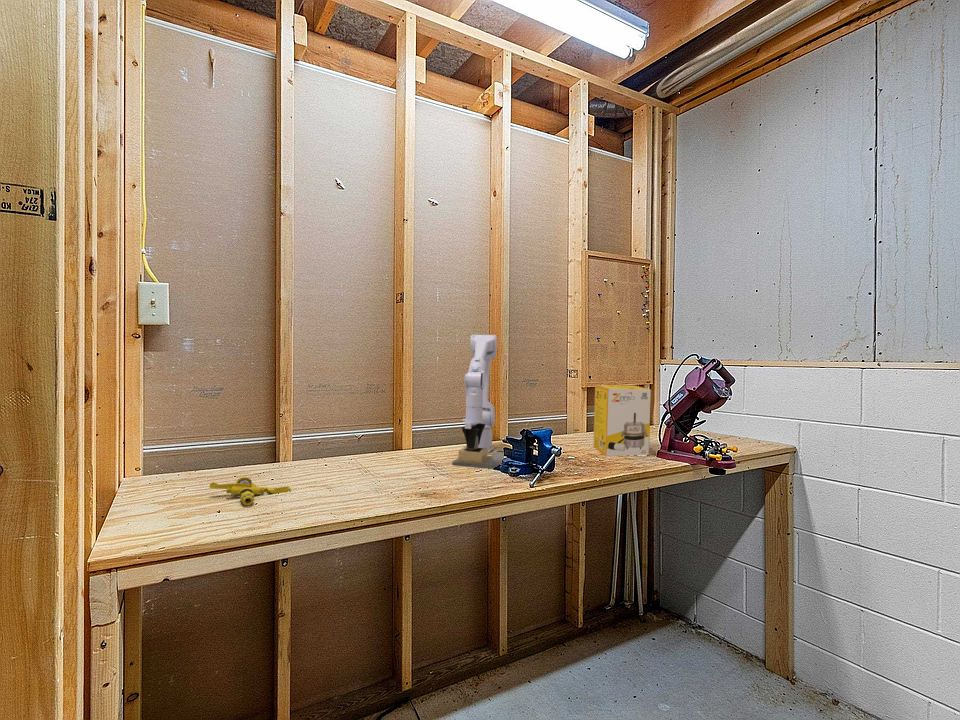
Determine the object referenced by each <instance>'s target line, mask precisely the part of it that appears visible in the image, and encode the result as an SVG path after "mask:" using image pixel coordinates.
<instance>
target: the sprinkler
mask: <svg viewBox="0 0 960 720" xmlns="http://www.w3.org/2000/svg"><path fill="white" fill-rule="evenodd" d="M208 487H209V488H210V489H214V490H215V489H216V490H217V489H218V490H219V489H220V490H226V494H231V495H239V498H240V502H241V503H242V504H243V505H244V506H250V505H252V504H253V503H254V501H255V496H257V495H260V494H264V493H271V494H273V495H276V494H281V493H282V492H283V493H288V491H289V492H290V491H291V490H292V488H291V487H290V486H289V485H287V486H280V487H267V486H264V487H263V486H261V487H260V486H257V485H256V484H255V483H253V481H252V479H251V478H249V477H247V476H243V477H242V476H241V478H239V479H237V480H236V483H234V482H233V483H221V484H220V483H217V482H210V483H209V486H208Z"/></svg>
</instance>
